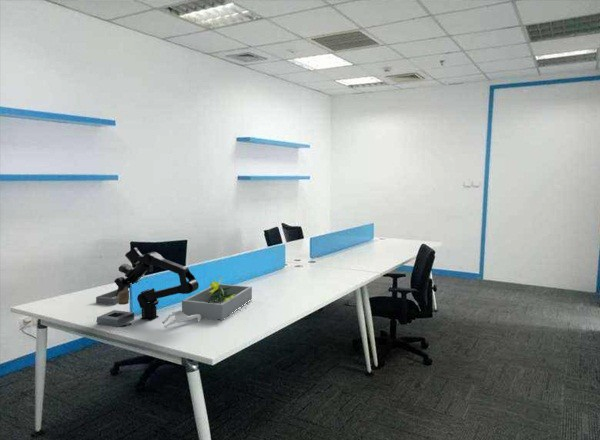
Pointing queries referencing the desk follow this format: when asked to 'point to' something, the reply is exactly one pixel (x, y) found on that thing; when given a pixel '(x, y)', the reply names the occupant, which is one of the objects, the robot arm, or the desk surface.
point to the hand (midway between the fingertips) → (121, 290)
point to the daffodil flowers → (218, 291)
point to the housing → (115, 318)
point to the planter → (214, 310)
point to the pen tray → (109, 298)
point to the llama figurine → (180, 317)
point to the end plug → (123, 297)
